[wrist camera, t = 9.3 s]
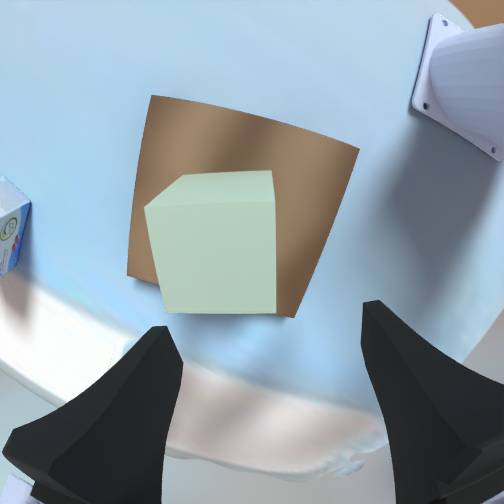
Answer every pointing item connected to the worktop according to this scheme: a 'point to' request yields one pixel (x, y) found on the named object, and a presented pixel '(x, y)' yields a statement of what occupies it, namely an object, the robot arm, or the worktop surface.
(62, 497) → the robot arm
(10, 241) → the medicine box
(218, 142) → the walnut base
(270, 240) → the sage block
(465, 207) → the worktop surface
